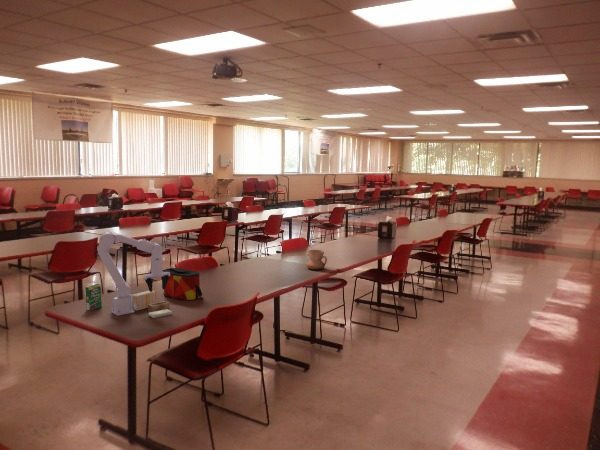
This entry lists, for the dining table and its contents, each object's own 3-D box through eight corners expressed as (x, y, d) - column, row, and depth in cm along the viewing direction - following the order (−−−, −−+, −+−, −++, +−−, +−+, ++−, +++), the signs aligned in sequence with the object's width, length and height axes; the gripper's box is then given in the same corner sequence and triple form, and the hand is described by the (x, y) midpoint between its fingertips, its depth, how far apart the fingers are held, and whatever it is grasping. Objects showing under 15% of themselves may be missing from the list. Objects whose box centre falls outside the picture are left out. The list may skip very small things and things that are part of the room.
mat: (154, 318, 243) (154, 318, 243) (147, 315, 248) (147, 314, 248) (171, 314, 250) (171, 314, 250) (165, 311, 255) (165, 310, 255)
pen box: (152, 313, 251) (152, 306, 250) (148, 311, 254) (148, 304, 253) (169, 309, 258) (169, 302, 257) (165, 308, 261) (165, 301, 260)
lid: (153, 317, 243) (153, 315, 243) (148, 315, 247) (148, 312, 247) (171, 313, 250) (171, 311, 250) (167, 311, 254) (167, 308, 254)
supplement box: (151, 289, 267) (131, 294, 257) (156, 291, 265) (136, 295, 254) (151, 303, 268) (131, 309, 258) (156, 305, 266) (136, 310, 255)
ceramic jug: (301, 269, 365) (301, 250, 363) (310, 265, 377) (311, 248, 375) (321, 272, 356) (322, 254, 353) (330, 269, 368) (331, 251, 366)
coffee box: (89, 311, 253) (88, 287, 251) (85, 310, 254) (84, 286, 252) (102, 307, 260) (101, 284, 258) (98, 306, 261) (97, 283, 259)
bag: (154, 294, 287) (154, 268, 285) (171, 289, 299) (171, 264, 297) (191, 302, 272) (191, 274, 270) (207, 297, 284) (207, 270, 281)
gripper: (147, 269, 248) (148, 294, 250) (172, 265, 258) (173, 289, 260) (141, 266, 253) (142, 291, 255) (166, 263, 263) (166, 287, 265)
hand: (157, 290), depth 258 cm, fingers open, 7 cm apart
